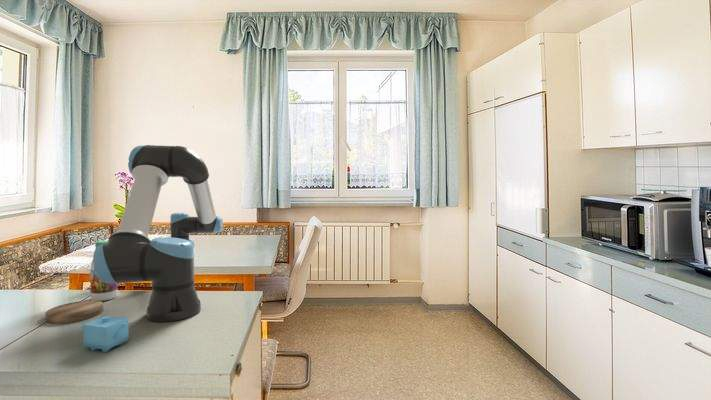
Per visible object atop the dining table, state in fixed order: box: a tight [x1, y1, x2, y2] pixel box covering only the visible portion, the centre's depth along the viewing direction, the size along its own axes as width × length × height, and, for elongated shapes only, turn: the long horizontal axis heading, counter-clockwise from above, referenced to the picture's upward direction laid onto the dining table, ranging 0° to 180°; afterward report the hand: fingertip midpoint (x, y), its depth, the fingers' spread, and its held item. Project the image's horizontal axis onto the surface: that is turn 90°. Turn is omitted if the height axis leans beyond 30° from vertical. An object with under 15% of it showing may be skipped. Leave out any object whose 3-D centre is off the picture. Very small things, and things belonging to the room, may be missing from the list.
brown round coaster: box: [44, 300, 104, 325], centre depth 110 cm, size 14×14×2 cm
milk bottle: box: [89, 240, 119, 302], centre depth 124 cm, size 8×8×20 cm
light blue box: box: [82, 315, 130, 353], centre depth 88 cm, size 12×6×8 cm, turn 76°
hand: (123, 262), depth 132 cm, fingers open, 13 cm apart
